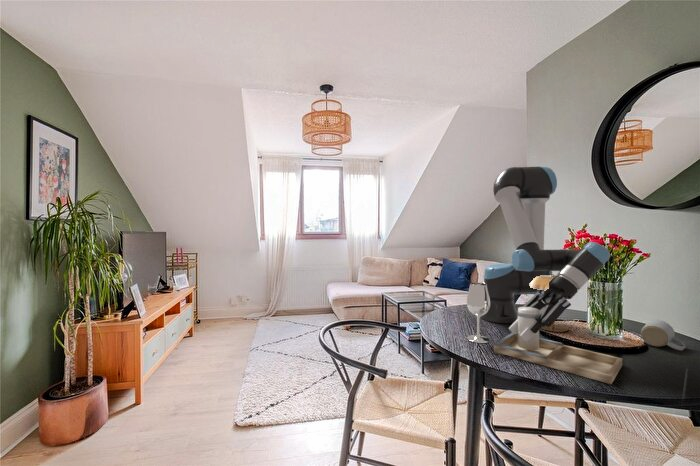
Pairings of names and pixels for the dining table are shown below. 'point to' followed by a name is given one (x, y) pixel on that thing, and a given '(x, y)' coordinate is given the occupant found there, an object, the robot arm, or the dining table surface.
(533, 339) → the domed white canister
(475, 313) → the wineglass
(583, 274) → the robot arm
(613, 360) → the bay tray
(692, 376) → the dining table surface
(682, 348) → the ceramic mug
